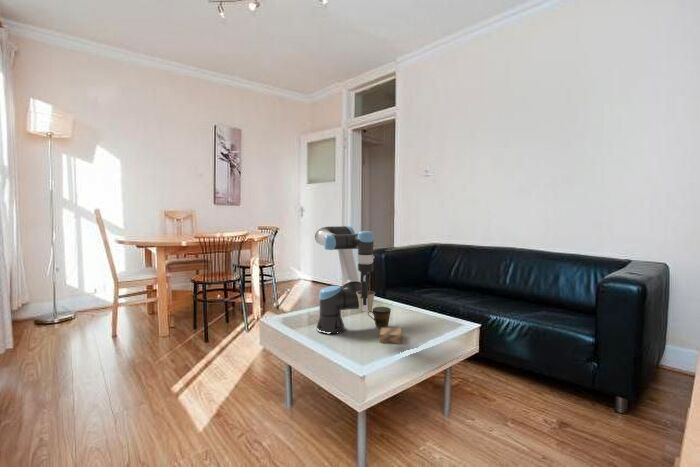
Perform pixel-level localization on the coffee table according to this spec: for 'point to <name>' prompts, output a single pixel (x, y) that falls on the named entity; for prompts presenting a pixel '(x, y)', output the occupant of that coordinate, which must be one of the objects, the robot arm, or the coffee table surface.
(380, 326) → the ceramic cup
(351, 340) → the coffee table surface
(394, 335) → the stand
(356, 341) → the coffee table surface
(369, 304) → the flower pot
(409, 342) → the coffee table surface
